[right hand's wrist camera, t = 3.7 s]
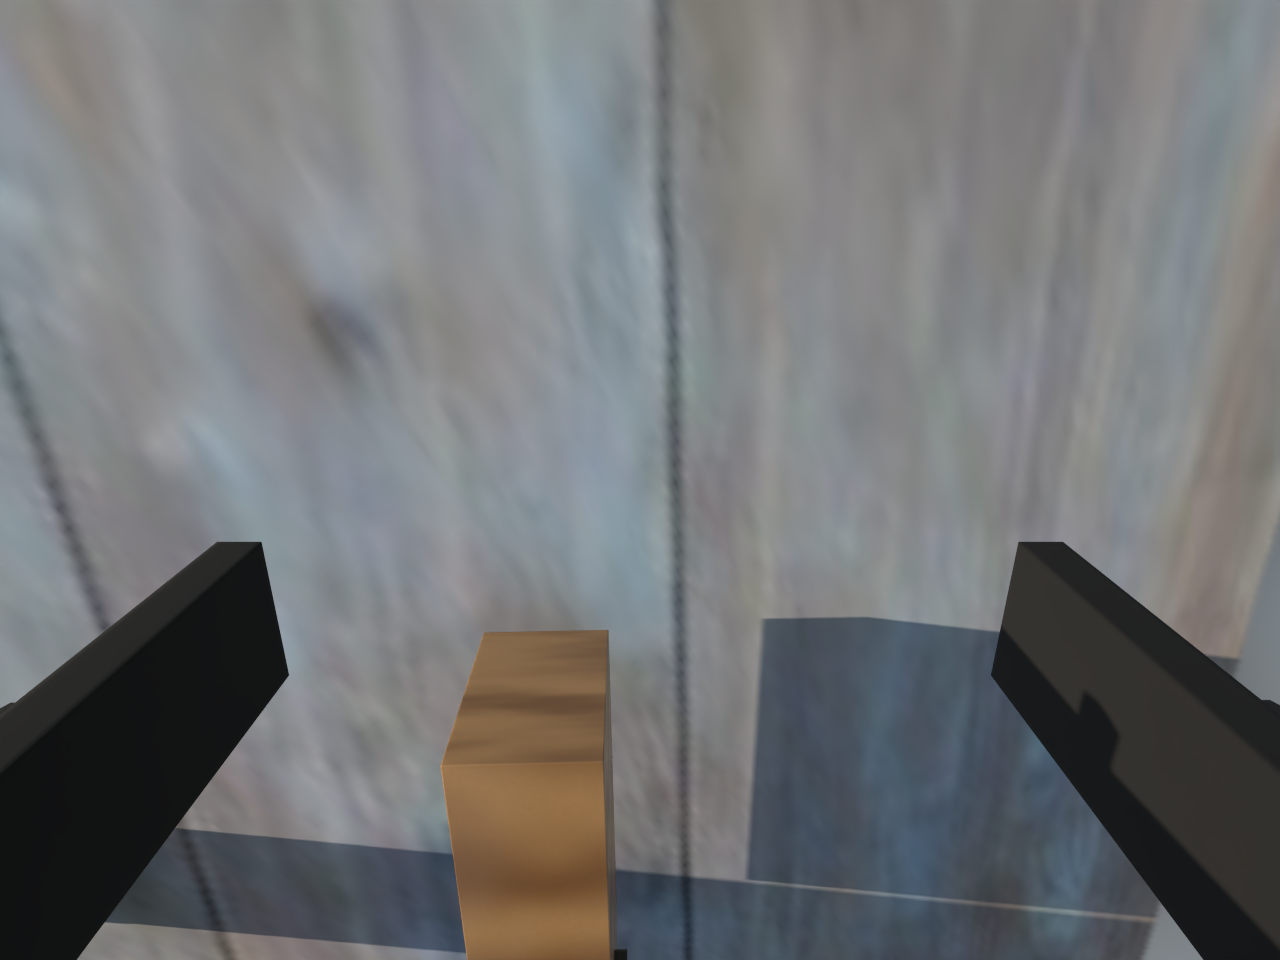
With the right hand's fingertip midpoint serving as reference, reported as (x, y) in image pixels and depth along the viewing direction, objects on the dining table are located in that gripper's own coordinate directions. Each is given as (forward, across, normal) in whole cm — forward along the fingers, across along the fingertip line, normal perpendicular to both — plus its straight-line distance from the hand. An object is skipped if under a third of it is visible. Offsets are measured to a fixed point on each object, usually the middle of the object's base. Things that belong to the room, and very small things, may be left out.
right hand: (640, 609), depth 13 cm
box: (+20, -5, -23) cm, 31 cm away
